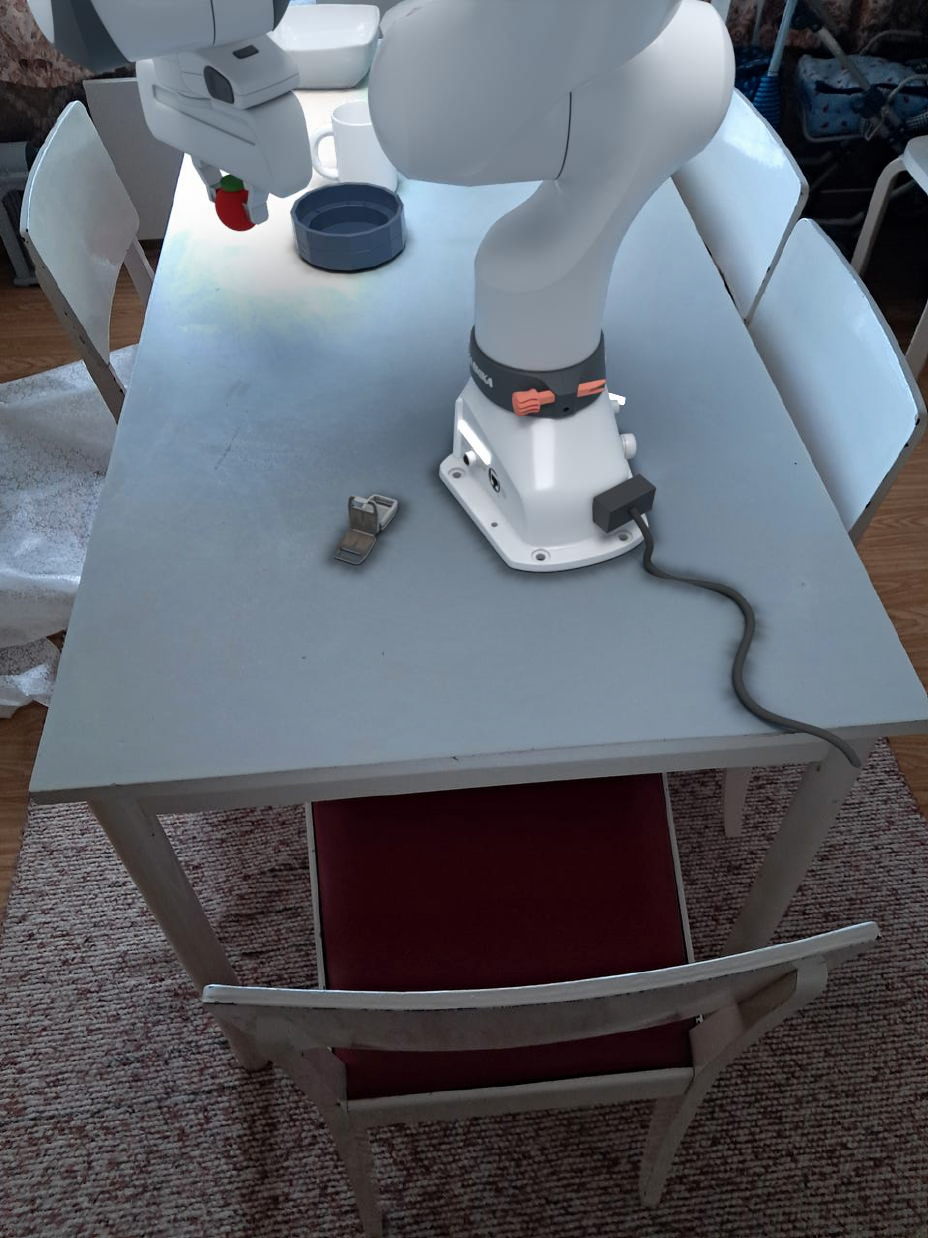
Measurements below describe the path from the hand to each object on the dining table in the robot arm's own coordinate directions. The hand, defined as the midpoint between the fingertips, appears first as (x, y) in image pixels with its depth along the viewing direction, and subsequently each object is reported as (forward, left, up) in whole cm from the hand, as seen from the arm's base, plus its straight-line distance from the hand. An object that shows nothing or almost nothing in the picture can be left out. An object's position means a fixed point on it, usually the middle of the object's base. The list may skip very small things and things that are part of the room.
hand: (239, 211), depth 84 cm
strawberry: (0, 0, -2) cm, 2 cm away
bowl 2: (+23, -14, -17) cm, 32 cm away
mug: (+38, -18, -18) cm, 45 cm away
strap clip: (-29, -4, -18) cm, 34 cm away
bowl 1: (+82, -22, -18) cm, 87 cm away
